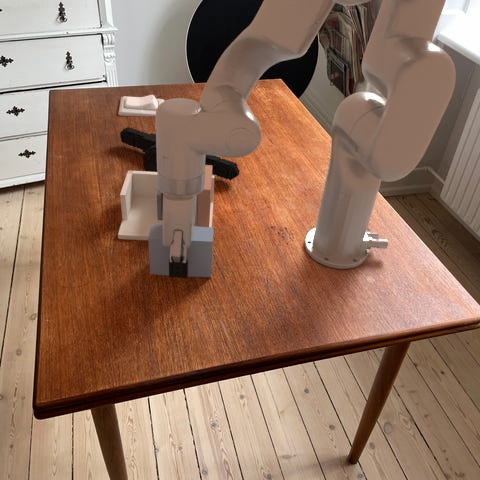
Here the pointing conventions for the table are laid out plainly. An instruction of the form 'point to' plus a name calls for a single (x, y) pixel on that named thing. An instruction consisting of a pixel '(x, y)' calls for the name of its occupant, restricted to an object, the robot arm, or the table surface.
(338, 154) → the robot arm
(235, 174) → the toy
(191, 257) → the grey block
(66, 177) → the table surface
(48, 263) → the table surface
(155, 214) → the shelf
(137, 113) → the light switch
